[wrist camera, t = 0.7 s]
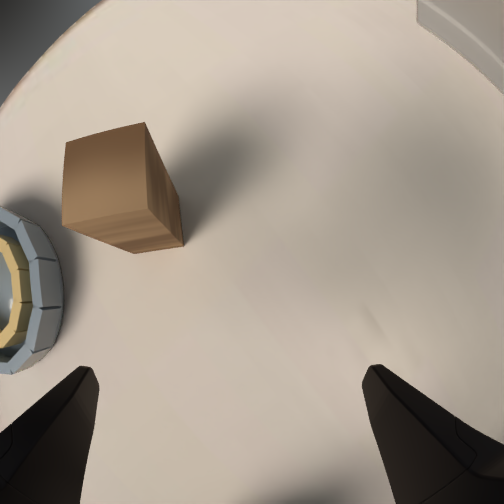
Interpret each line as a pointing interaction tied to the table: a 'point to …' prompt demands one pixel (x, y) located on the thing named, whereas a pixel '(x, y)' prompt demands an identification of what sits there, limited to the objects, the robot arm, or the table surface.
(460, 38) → the tablet stand
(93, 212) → the brown wooden block
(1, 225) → the grey round dish
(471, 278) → the table surface
